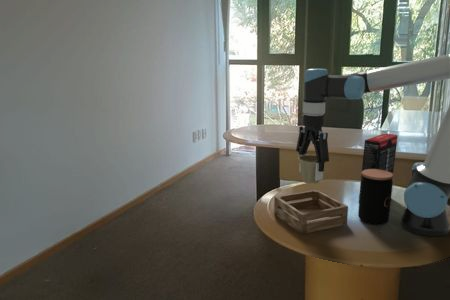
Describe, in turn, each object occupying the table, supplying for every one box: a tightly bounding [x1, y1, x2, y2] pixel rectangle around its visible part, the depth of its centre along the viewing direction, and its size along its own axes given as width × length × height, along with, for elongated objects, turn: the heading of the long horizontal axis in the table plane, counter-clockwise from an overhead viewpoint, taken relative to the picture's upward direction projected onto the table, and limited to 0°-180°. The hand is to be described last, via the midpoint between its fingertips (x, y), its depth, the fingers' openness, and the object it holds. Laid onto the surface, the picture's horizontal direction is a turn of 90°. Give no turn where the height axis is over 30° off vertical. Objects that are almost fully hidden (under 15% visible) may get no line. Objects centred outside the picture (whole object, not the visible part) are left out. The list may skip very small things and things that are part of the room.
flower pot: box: [297, 154, 321, 185], centre depth 142 cm, size 9×9×9 cm
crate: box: [273, 189, 349, 235], centre depth 146 cm, size 19×19×7 cm
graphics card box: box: [358, 133, 399, 199], centre depth 160 cm, size 17×7×27 cm, turn 136°
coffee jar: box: [357, 169, 394, 226], centre depth 143 cm, size 11×11×18 cm
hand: (310, 175), depth 143 cm, fingers closed on flower pot, 9 cm apart
